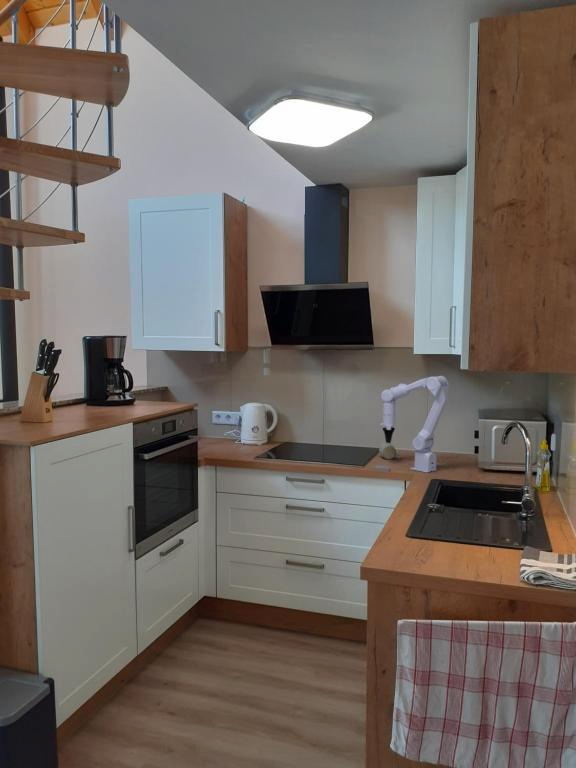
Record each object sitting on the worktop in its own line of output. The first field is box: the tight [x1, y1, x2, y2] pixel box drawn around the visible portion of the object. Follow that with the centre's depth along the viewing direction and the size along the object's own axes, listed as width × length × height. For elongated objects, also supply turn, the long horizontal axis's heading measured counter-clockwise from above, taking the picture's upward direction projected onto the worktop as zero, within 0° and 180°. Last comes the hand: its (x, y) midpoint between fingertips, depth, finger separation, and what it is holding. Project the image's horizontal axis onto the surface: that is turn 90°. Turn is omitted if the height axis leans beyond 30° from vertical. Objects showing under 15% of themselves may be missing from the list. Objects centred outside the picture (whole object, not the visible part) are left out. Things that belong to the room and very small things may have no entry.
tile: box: [374, 465, 390, 473], centre depth 277 cm, size 2×6×6 cm
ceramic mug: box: [378, 441, 402, 460], centre depth 304 cm, size 11×8×8 cm
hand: (388, 442), depth 289 cm, fingers closed
